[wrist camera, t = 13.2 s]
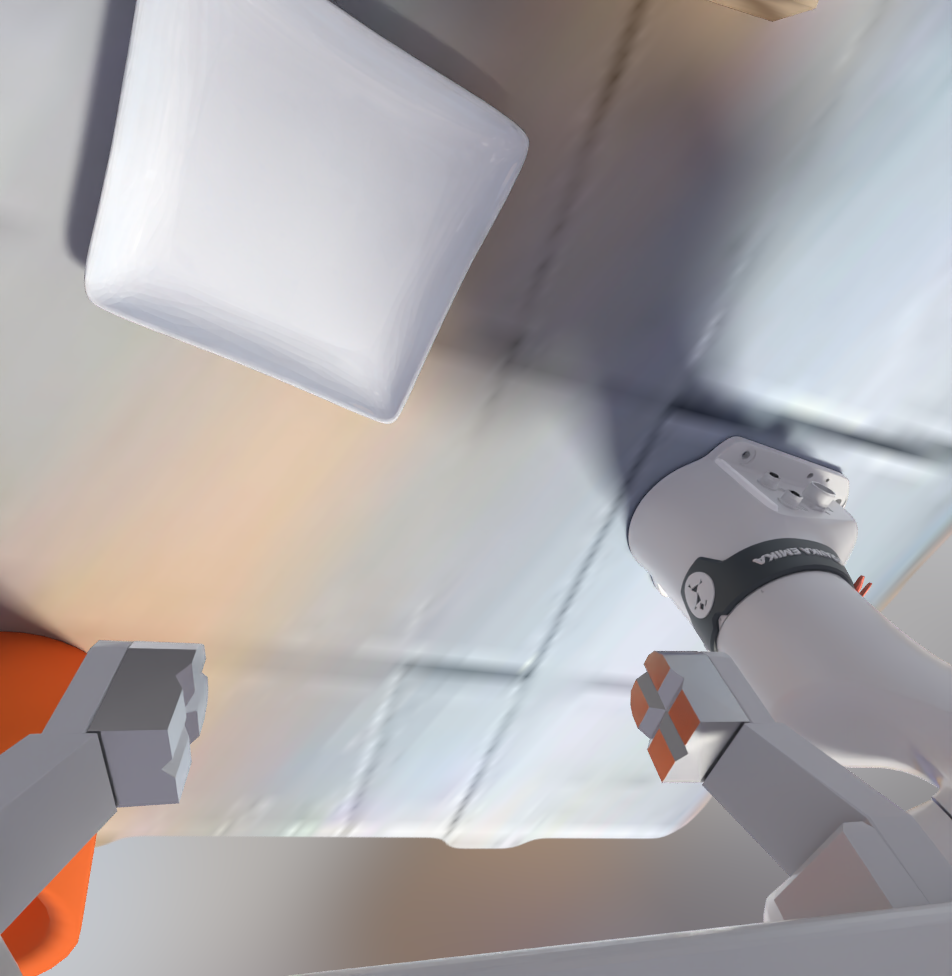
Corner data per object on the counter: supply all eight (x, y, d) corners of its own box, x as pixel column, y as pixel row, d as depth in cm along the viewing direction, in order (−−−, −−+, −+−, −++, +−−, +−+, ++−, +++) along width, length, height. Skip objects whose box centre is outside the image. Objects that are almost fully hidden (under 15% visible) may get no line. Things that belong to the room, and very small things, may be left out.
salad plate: (175, -99, 28) (151, -126, 25) (526, 136, 36) (539, 136, 33) (99, 290, 37) (75, 303, 34) (393, 411, 44) (394, 430, 41)
